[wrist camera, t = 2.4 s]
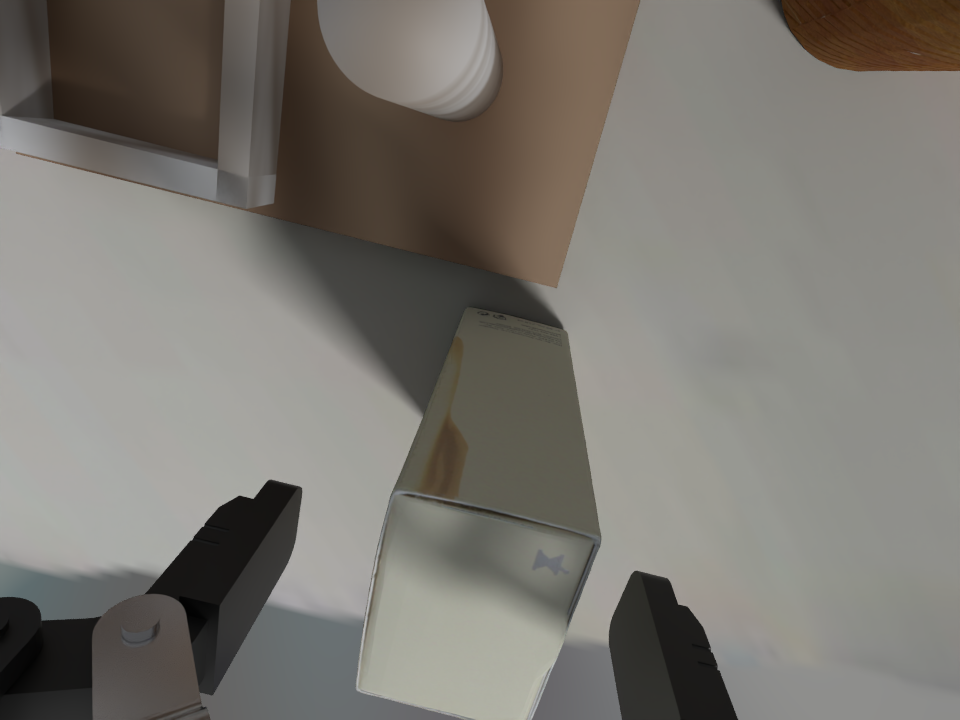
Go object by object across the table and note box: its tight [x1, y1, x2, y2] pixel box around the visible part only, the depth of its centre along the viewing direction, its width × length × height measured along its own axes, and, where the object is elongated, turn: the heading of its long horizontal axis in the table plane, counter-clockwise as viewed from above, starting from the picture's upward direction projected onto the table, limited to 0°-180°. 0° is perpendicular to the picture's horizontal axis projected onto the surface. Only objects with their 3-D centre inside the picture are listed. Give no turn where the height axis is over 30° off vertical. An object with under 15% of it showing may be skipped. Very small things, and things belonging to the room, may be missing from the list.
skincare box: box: [355, 307, 601, 720], centre depth 17 cm, size 6×4×12 cm
